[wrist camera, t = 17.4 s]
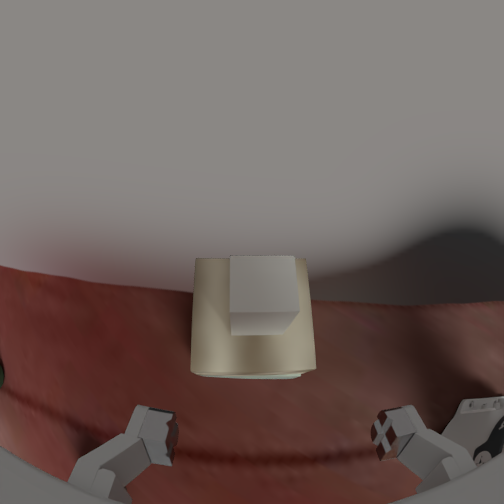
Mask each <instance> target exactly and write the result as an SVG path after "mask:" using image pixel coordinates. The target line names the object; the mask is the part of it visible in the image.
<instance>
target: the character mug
mask: <svg viewBox="0 0 504 504" xmlns="http://www.w3.org/2000/svg"><path fill="white" fill-rule="evenodd" d="M3 379H4V374H3V369H2V367H1V365H0V388H1V386H2V384H3Z"/></svg>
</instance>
